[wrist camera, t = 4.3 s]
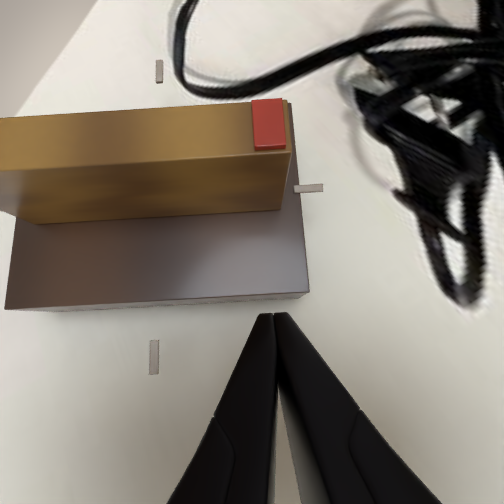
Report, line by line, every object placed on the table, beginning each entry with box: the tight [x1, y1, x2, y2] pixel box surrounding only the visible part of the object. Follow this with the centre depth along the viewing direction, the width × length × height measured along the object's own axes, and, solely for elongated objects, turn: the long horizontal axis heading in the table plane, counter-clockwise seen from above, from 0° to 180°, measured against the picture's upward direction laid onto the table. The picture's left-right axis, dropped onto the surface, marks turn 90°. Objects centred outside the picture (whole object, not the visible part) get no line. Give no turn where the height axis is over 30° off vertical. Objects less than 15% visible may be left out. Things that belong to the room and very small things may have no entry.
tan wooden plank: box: [0, 98, 292, 224], centre depth 12 cm, size 12×2×5 cm, turn 93°
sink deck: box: [0, 60, 323, 375], centre depth 16 cm, size 16×16×4 cm
